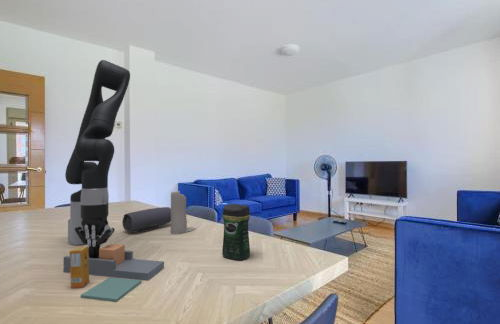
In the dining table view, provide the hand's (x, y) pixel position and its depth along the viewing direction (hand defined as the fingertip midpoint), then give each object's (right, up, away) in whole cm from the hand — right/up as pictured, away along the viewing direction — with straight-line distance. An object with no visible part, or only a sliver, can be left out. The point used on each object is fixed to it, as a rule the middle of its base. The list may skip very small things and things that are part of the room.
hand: (94, 257), depth 81 cm
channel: (+6, -3, -1) cm, 7 cm away
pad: (+13, -4, -13) cm, 19 cm away
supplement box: (+3, -4, -11) cm, 12 cm away
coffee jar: (+44, -4, +11) cm, 46 cm away
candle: (+17, -4, +45) cm, 48 cm away
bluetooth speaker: (-1, -4, +47) cm, 47 cm away
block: (+6, -1, -1) cm, 6 cm away
